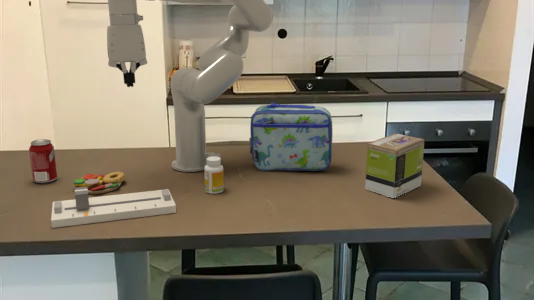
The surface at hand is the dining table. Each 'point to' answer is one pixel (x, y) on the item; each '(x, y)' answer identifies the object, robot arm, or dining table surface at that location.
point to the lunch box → (291, 137)
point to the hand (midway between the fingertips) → (130, 86)
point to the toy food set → (100, 182)
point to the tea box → (394, 165)
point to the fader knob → (81, 198)
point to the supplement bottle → (214, 175)
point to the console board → (113, 208)
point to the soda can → (43, 161)
